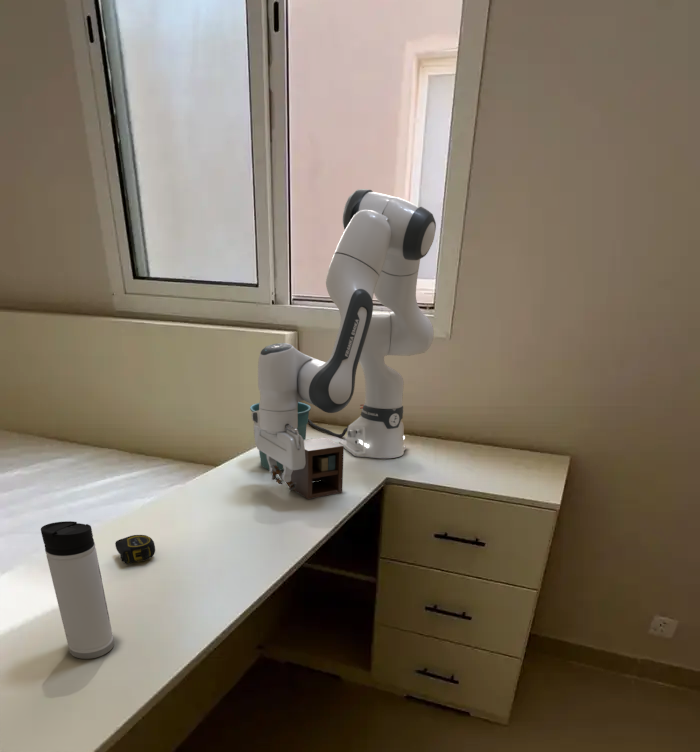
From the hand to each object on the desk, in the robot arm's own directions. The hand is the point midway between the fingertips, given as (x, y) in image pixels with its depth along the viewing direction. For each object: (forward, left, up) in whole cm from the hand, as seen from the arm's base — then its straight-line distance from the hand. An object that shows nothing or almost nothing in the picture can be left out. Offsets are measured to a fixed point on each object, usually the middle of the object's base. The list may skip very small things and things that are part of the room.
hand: (280, 477), depth 147 cm
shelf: (+1, +10, -5) cm, 11 cm away
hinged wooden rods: (+1, 0, -2) cm, 2 cm away
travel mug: (+46, -55, -5) cm, 72 cm away
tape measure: (+19, -41, -5) cm, 45 cm away
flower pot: (-22, +12, -5) cm, 26 cm away
